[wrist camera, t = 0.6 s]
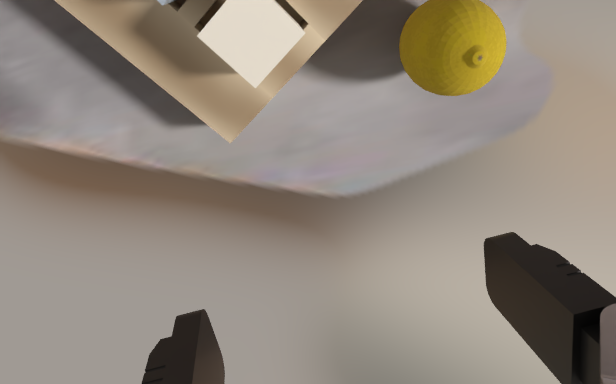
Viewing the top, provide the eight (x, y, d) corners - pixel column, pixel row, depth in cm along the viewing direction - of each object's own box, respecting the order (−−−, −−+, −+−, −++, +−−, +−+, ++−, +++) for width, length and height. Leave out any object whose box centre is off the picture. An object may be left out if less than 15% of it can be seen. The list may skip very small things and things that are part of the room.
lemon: (443, 89, 32) (498, 124, 25) (372, 63, 30) (408, 93, 23) (481, 8, 30) (554, 22, 22) (406, -23, 28) (457, -20, 21)
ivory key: (248, -27, 24) (247, -26, 20) (298, 23, 25) (305, 32, 22) (205, 26, 25) (196, 36, 21) (255, 72, 26) (255, 88, 22)
